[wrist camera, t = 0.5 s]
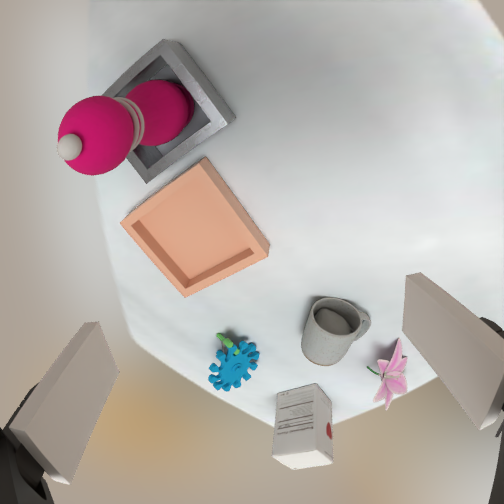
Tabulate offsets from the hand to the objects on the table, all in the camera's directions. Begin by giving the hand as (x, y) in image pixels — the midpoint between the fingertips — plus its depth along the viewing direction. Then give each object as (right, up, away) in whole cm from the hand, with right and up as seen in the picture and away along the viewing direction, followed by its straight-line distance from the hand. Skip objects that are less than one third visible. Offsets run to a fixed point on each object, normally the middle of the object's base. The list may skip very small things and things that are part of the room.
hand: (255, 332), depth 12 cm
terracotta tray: (-7, +6, +29) cm, 31 cm away
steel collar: (-10, +20, +21) cm, 30 cm away
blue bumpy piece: (-3, -13, +41) cm, 43 cm away
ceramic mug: (+13, -7, +35) cm, 38 cm away
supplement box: (+11, -27, +48) cm, 56 cm away
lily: (+24, -16, +39) cm, 49 cm away
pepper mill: (-10, +20, +21) cm, 31 cm away
